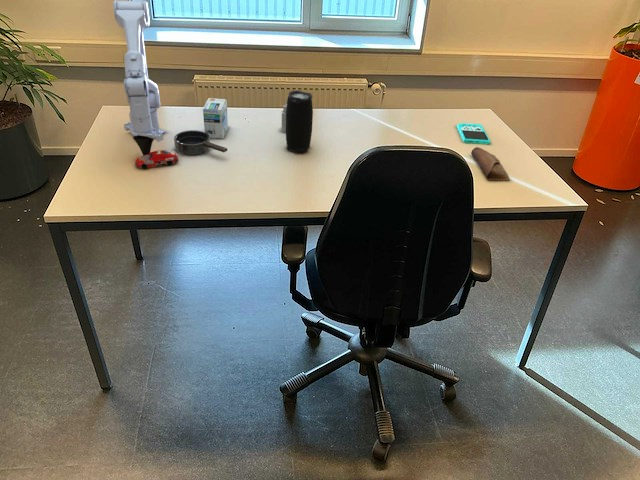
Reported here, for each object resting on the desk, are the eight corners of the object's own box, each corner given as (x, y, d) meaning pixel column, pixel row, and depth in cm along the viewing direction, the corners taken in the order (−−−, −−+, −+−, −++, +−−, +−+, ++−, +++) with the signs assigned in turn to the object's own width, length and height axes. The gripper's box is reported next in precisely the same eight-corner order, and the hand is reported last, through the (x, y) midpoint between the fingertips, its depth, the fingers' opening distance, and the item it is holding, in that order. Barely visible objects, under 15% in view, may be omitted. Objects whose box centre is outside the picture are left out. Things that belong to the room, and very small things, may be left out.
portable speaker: (315, 147, 184) (318, 92, 172) (302, 157, 177) (304, 101, 165) (293, 141, 186) (295, 87, 175) (280, 151, 180) (281, 95, 168)
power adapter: (296, 132, 193) (297, 101, 186) (281, 132, 192) (281, 100, 185) (296, 129, 195) (297, 98, 188) (281, 128, 195) (282, 97, 188)
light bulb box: (223, 139, 185) (221, 109, 178) (204, 137, 185) (202, 108, 178) (228, 126, 193) (227, 98, 187) (210, 125, 193) (208, 97, 187)
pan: (168, 149, 175) (166, 138, 173) (191, 138, 184) (190, 127, 182) (194, 159, 171) (193, 148, 169) (217, 146, 179) (216, 136, 177)
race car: (136, 171, 163) (134, 159, 160) (134, 163, 167) (132, 151, 164) (179, 165, 167) (178, 153, 165) (176, 157, 171) (175, 146, 169)
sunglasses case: (511, 179, 171) (506, 163, 167) (491, 188, 172) (485, 173, 169) (493, 154, 186) (487, 139, 182) (474, 163, 187) (468, 148, 183)
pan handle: (203, 145, 173) (203, 143, 172) (207, 143, 174) (207, 141, 174) (224, 152, 170) (223, 150, 169) (227, 150, 171) (227, 148, 170)
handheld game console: (481, 127, 207) (482, 123, 206) (490, 144, 194) (491, 141, 193) (455, 125, 207) (456, 122, 206) (463, 142, 194) (464, 139, 193)
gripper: (113, 114, 160) (121, 154, 168) (148, 125, 155) (154, 166, 162) (131, 107, 165) (137, 146, 173) (165, 118, 160) (170, 158, 167)
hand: (146, 155), depth 168 cm, fingers closed
